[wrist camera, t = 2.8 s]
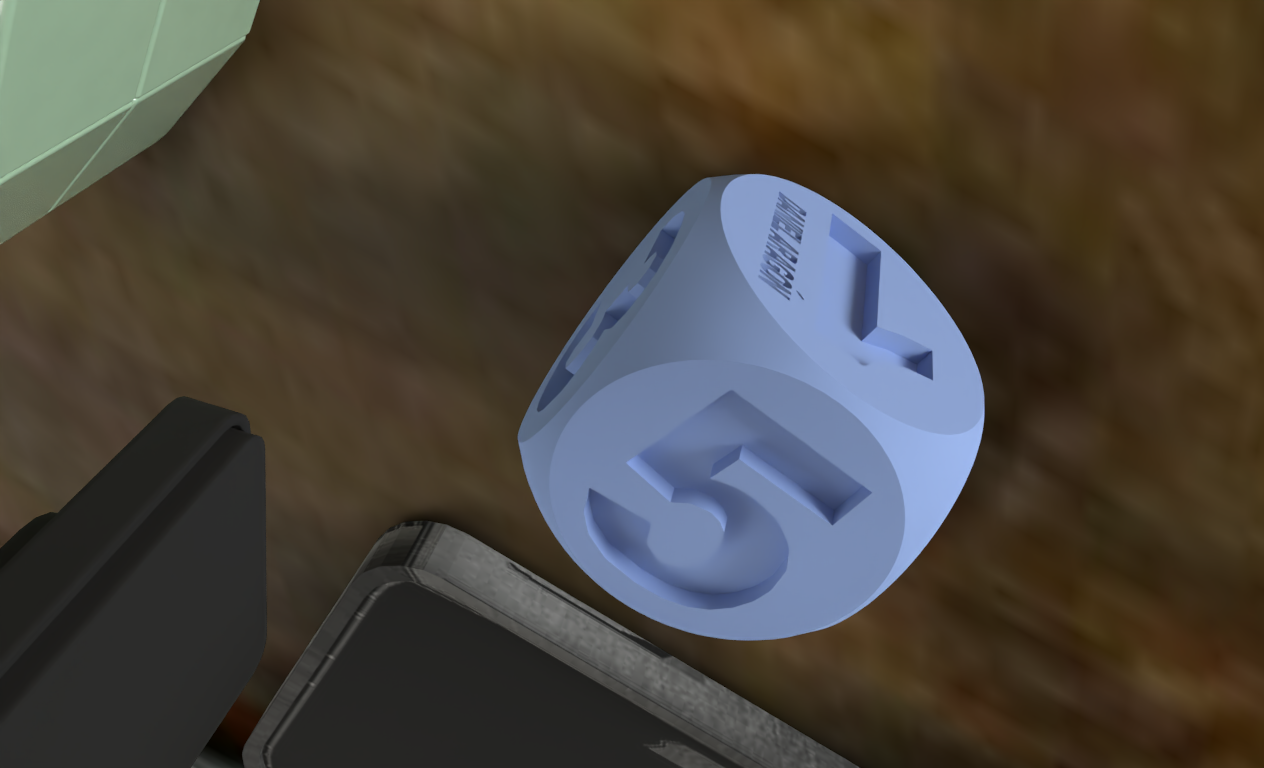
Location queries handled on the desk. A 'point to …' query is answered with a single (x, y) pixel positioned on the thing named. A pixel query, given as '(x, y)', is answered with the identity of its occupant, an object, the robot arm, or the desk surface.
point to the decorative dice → (754, 417)
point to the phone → (499, 679)
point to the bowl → (98, 88)
